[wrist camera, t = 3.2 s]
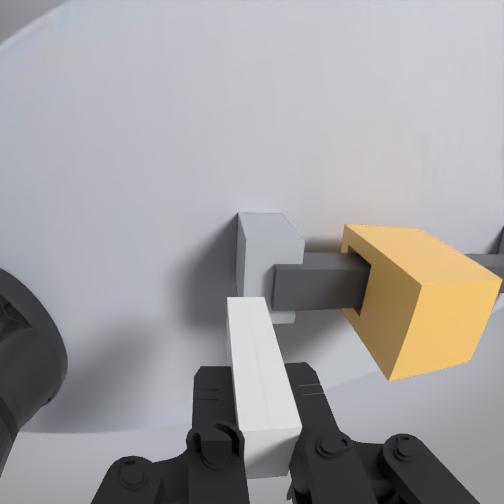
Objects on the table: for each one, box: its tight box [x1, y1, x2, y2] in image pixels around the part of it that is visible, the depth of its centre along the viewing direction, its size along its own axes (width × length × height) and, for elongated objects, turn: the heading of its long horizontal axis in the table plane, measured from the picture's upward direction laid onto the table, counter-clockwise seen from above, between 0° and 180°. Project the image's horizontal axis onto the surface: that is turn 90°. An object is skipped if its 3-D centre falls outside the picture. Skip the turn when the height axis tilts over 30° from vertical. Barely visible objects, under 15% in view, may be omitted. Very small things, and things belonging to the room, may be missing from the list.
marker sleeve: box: [340, 224, 503, 381], centre depth 16 cm, size 6×5×9 cm
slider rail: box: [236, 213, 504, 324], centre depth 19 cm, size 32×6×9 cm, turn 87°
